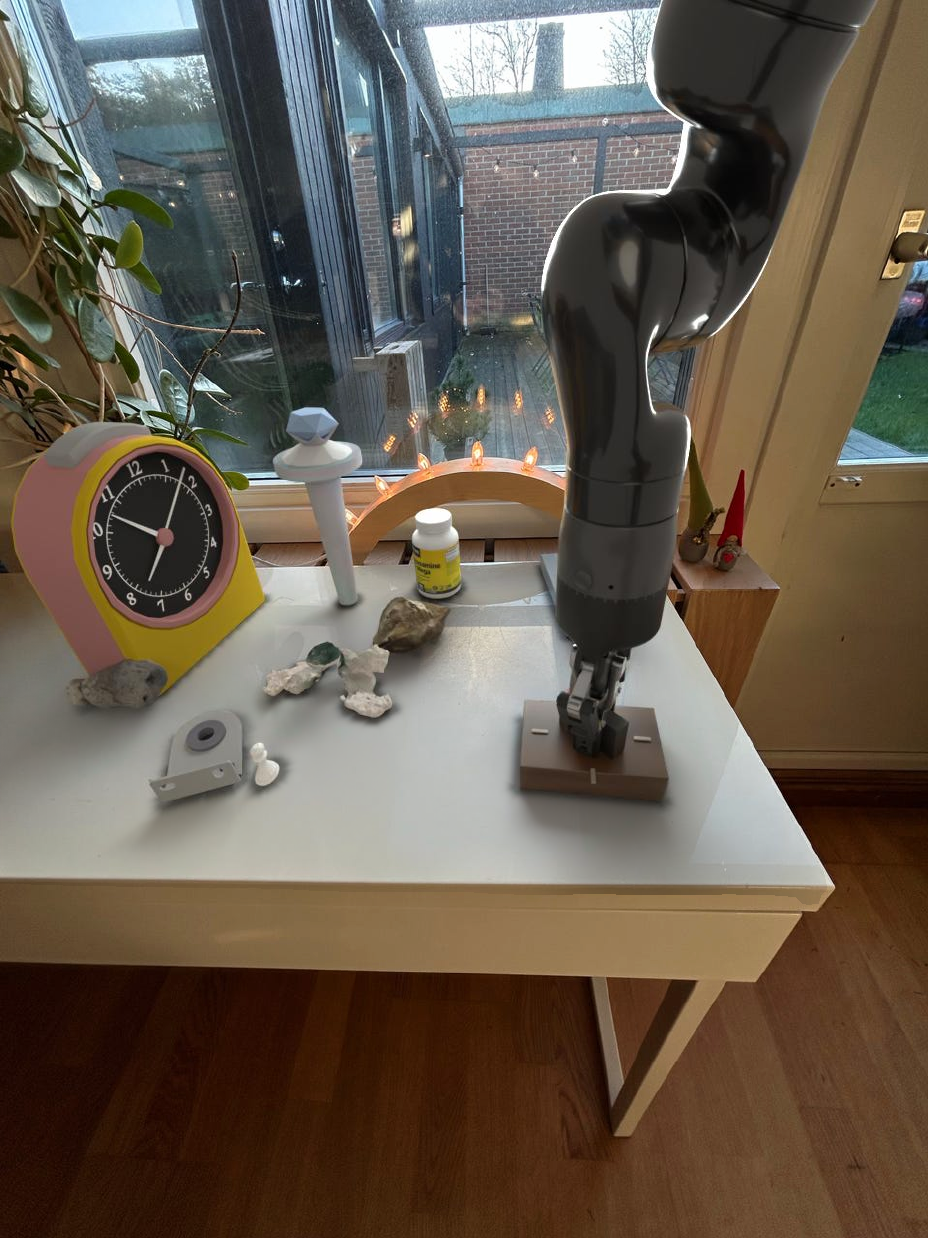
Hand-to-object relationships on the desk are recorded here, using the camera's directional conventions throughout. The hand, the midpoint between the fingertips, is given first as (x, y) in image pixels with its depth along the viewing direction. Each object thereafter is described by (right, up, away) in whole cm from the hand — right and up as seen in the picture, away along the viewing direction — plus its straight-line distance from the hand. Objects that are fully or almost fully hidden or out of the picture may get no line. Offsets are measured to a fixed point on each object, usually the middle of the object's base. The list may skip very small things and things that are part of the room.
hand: (592, 737), depth 45 cm
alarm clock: (-46, +8, +21) cm, 51 cm away
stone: (-48, +1, +11) cm, 49 cm away
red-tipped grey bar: (0, 0, 0) cm, 0 cm away
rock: (-26, +3, +12) cm, 28 cm away
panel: (0, -2, +2) cm, 3 cm away
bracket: (-36, -3, +4) cm, 37 cm away
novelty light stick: (-27, +13, +26) cm, 40 cm away
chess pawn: (-29, -4, +2) cm, 30 cm away
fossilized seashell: (-17, +8, +18) cm, 26 cm away
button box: (+4, +13, +24) cm, 28 cm away
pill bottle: (-15, +15, +27) cm, 34 cm away
